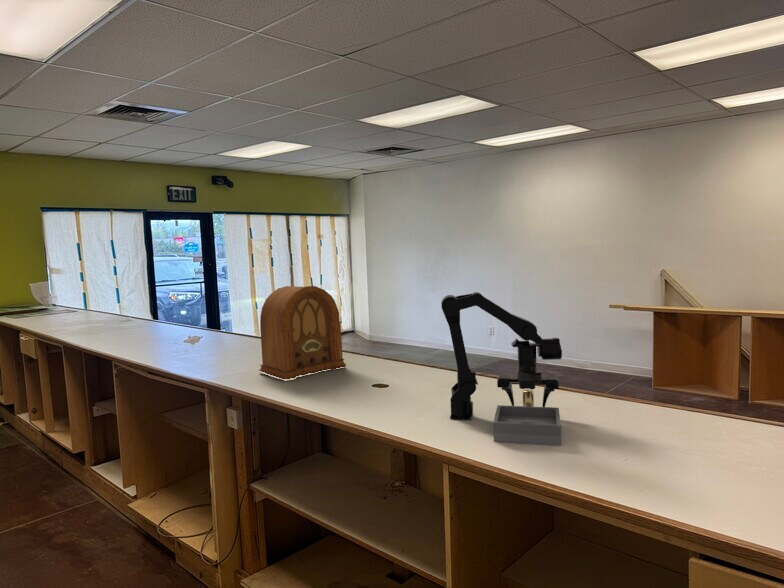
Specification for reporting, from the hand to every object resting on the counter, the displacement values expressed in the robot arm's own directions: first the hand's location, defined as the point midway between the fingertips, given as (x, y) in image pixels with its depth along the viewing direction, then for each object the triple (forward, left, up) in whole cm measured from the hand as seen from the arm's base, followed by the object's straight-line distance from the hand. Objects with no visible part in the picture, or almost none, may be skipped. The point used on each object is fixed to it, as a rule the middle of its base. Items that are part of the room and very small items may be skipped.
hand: (528, 408), depth 165 cm
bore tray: (0, -16, -2) cm, 16 cm away
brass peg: (0, 0, -2) cm, 2 cm away
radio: (-103, +50, -3) cm, 114 cm away
